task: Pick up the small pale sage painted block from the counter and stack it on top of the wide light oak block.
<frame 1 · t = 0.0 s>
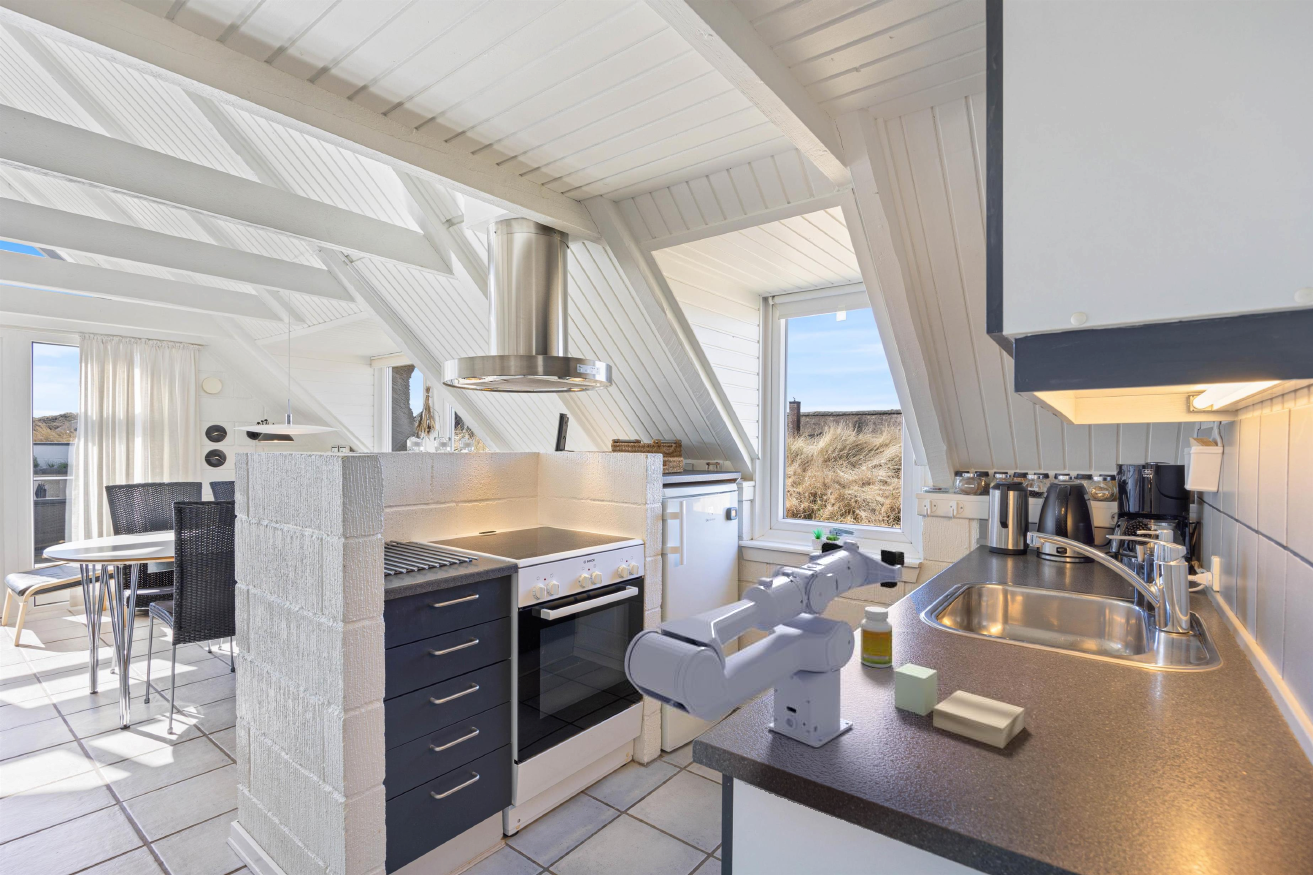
hand: (879, 554, 103), 22 cm above the worktop, tool horizontal, fingers open, 7 cm apart
oak base: (978, 729, 90), on the worktop
sage block: (915, 706, 96), on the worktop
supplement bottle: (876, 664, 115), on the worktop
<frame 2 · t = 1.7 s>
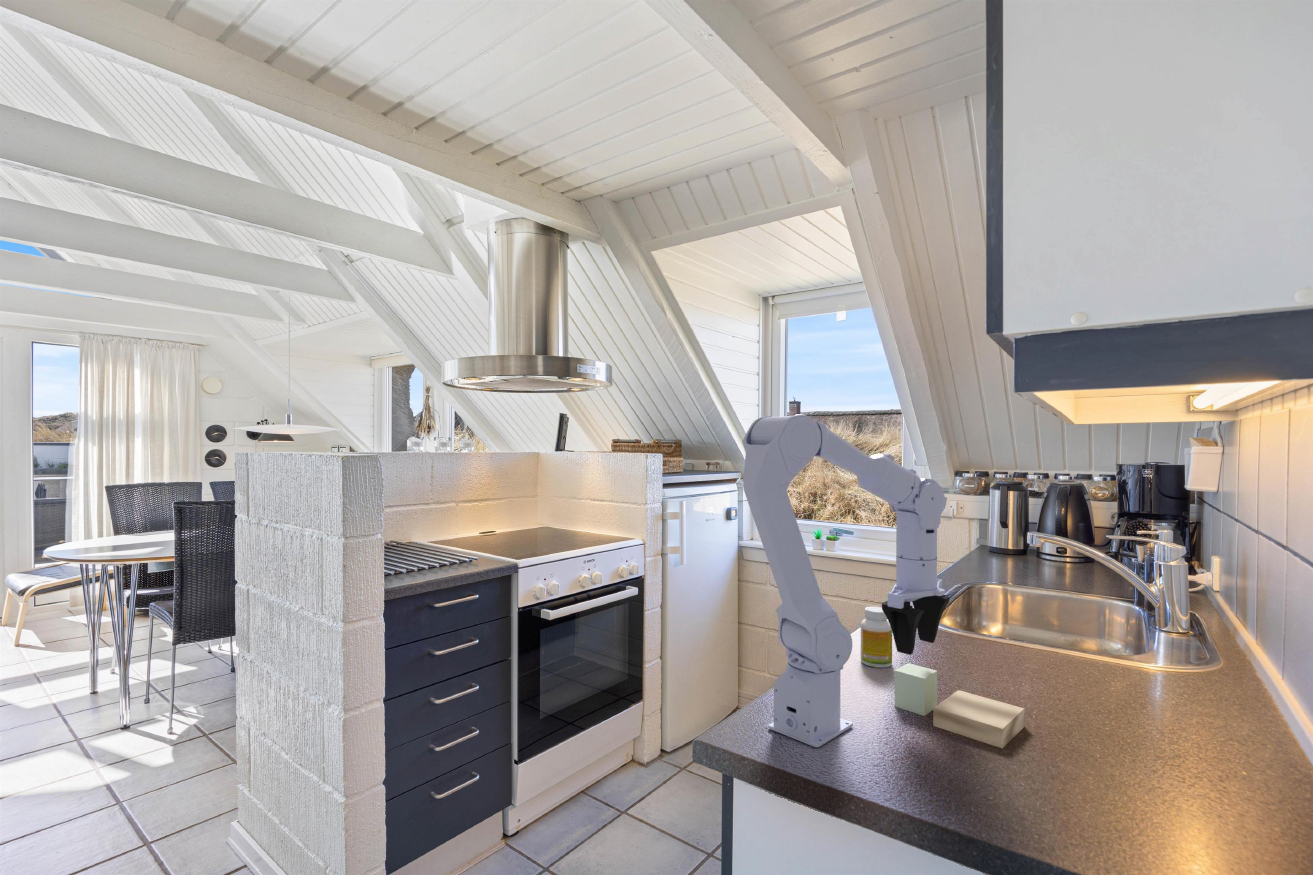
hand: (916, 646, 96), 9 cm above the worktop, tool pointing down, fingers open, 7 cm apart
nothing on the worktop moved.
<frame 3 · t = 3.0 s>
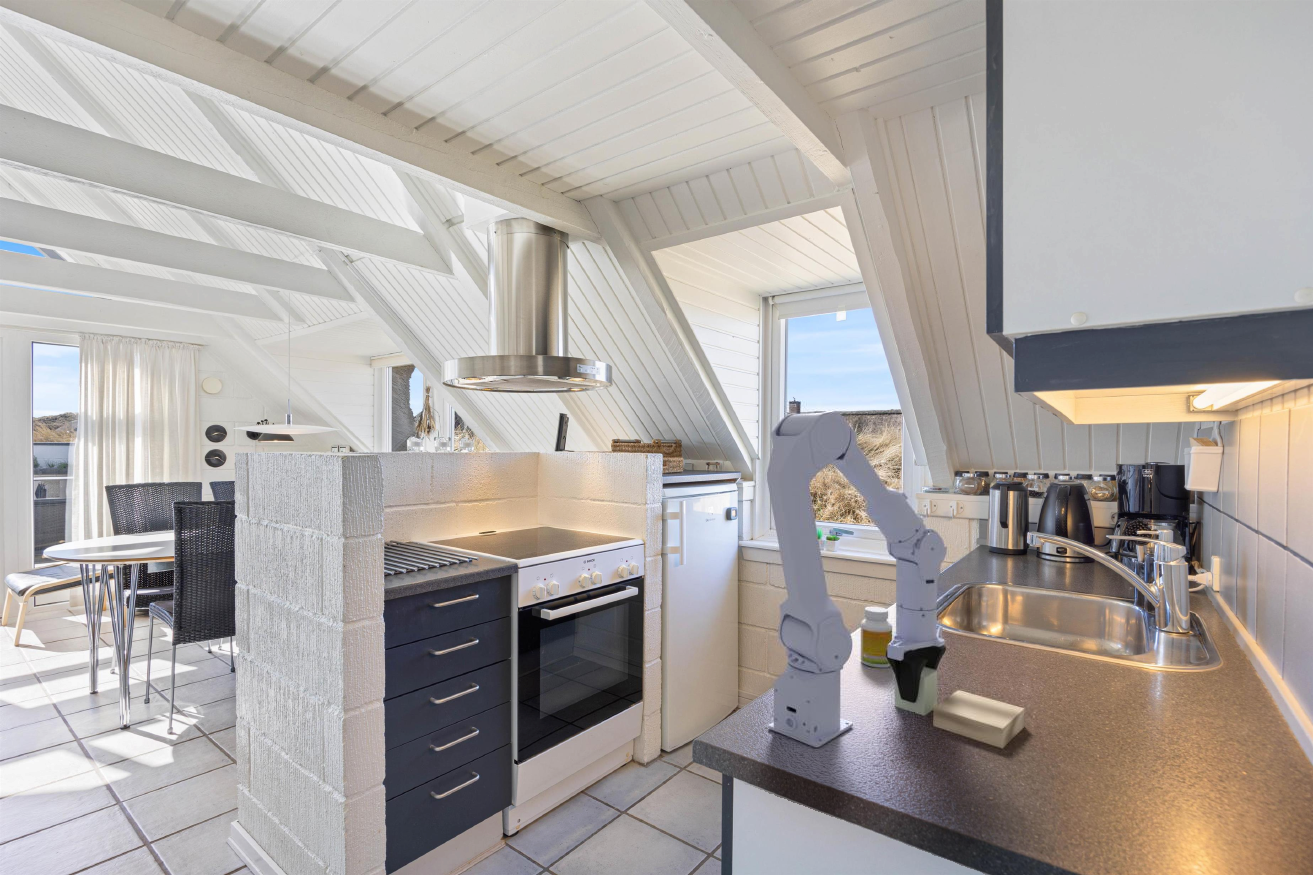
hand: (915, 695, 96), 2 cm above the worktop, tool pointing down, fingers closed on sage block, 4 cm apart
sage block: (915, 706, 96), on the worktop, touching gripper
everything else where it was.
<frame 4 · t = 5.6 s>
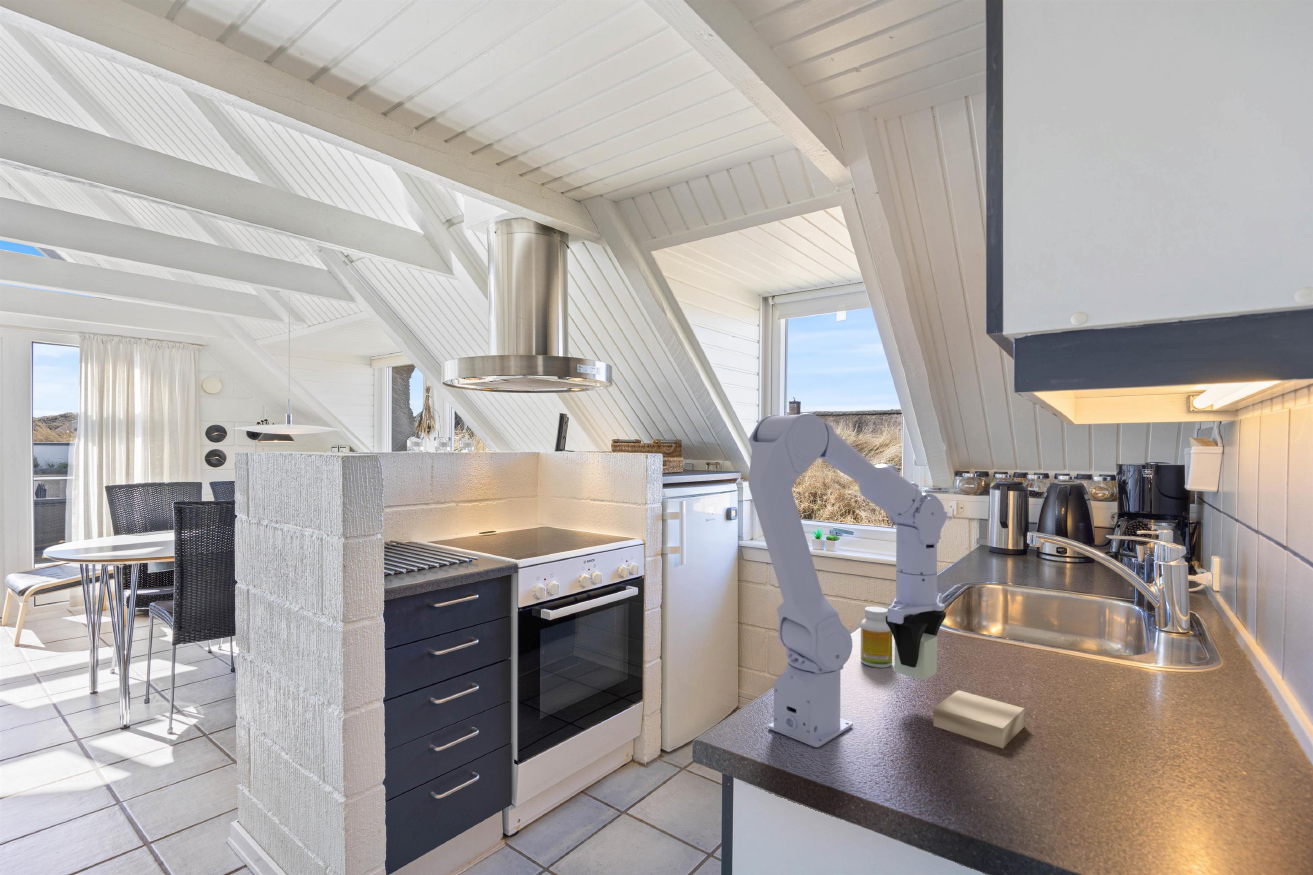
hand: (915, 661, 96), 7 cm above the worktop, tool pointing down, fingers closed on sage block, 4 cm apart
sage block: (915, 672, 96), point 5 cm above the worktop, touching gripper
everything else where it was.
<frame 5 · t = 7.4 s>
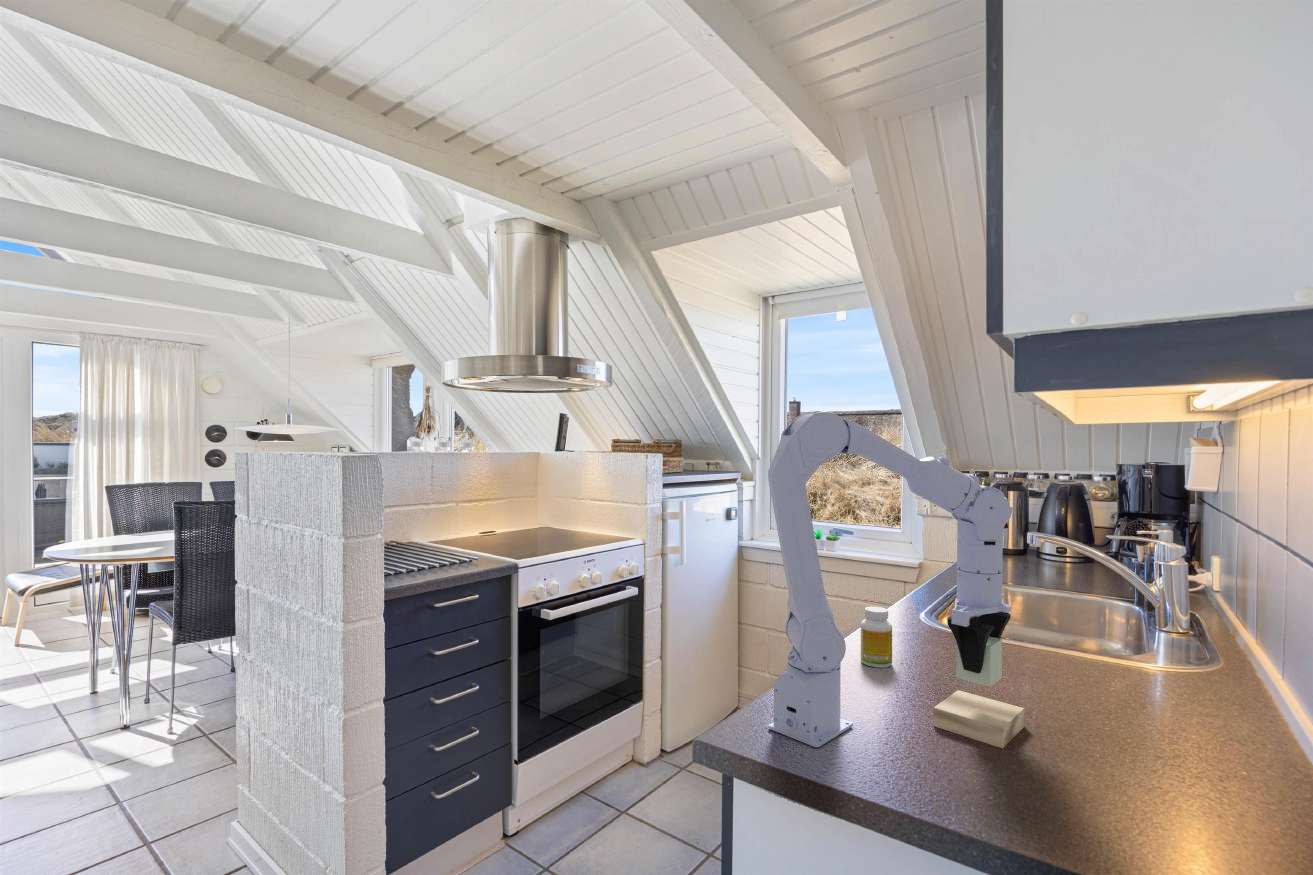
hand: (979, 666, 90), 8 cm above the worktop, tool pointing down, fingers closed on sage block, 4 cm apart
sage block: (978, 677, 90), point 7 cm above the worktop, touching gripper
everything else where it was.
when the fingers open (6 cm above the worktop, at t = 8.5 s): sage block drops 2 cm, resting on oak base.
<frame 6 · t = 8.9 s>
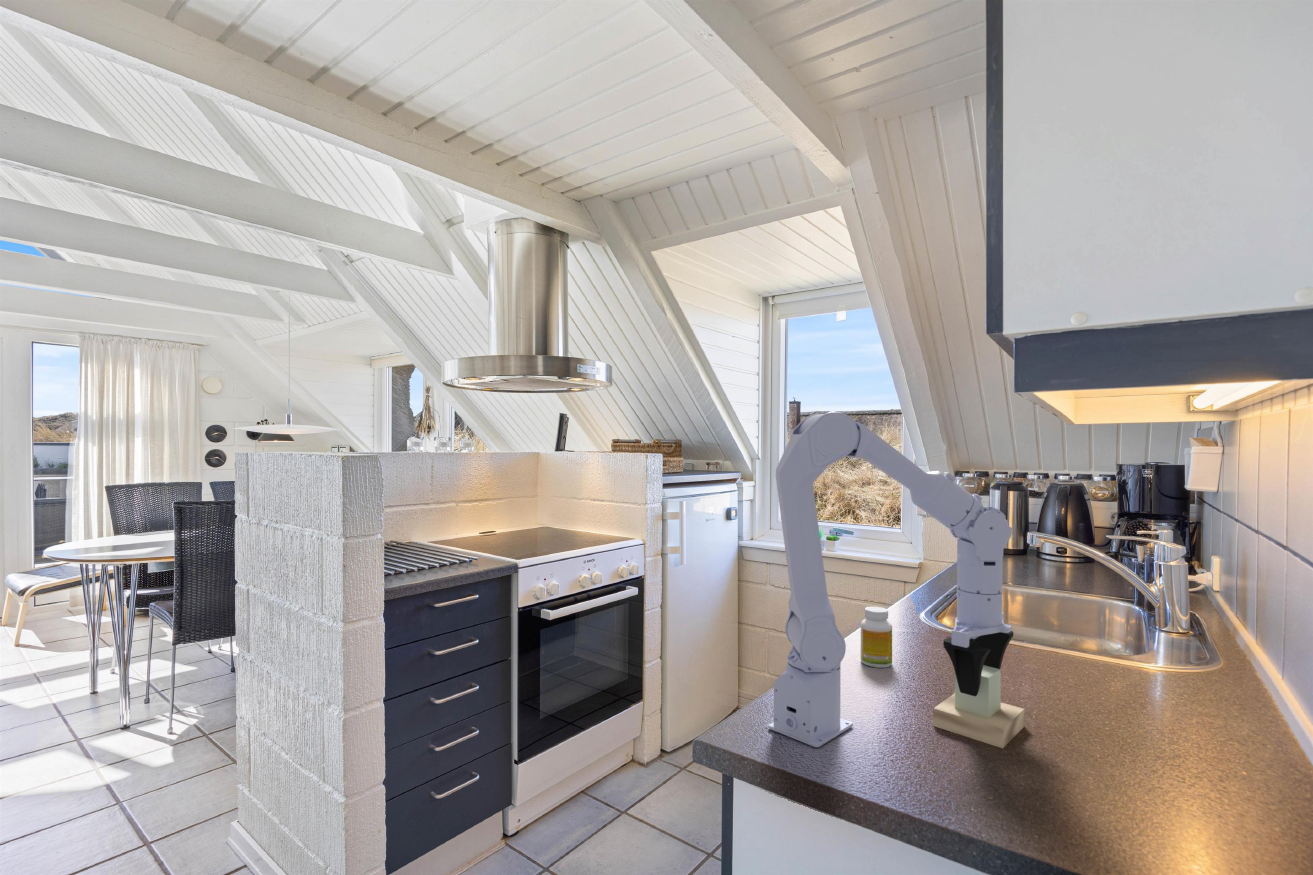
hand: (978, 686, 90), 6 cm above the worktop, tool pointing down, fingers open, 7 cm apart
oak base: (978, 729, 90), on the worktop, touching sage block
sage block: (977, 707, 90), point 2 cm above the worktop, touching oak base
everything else where it was.
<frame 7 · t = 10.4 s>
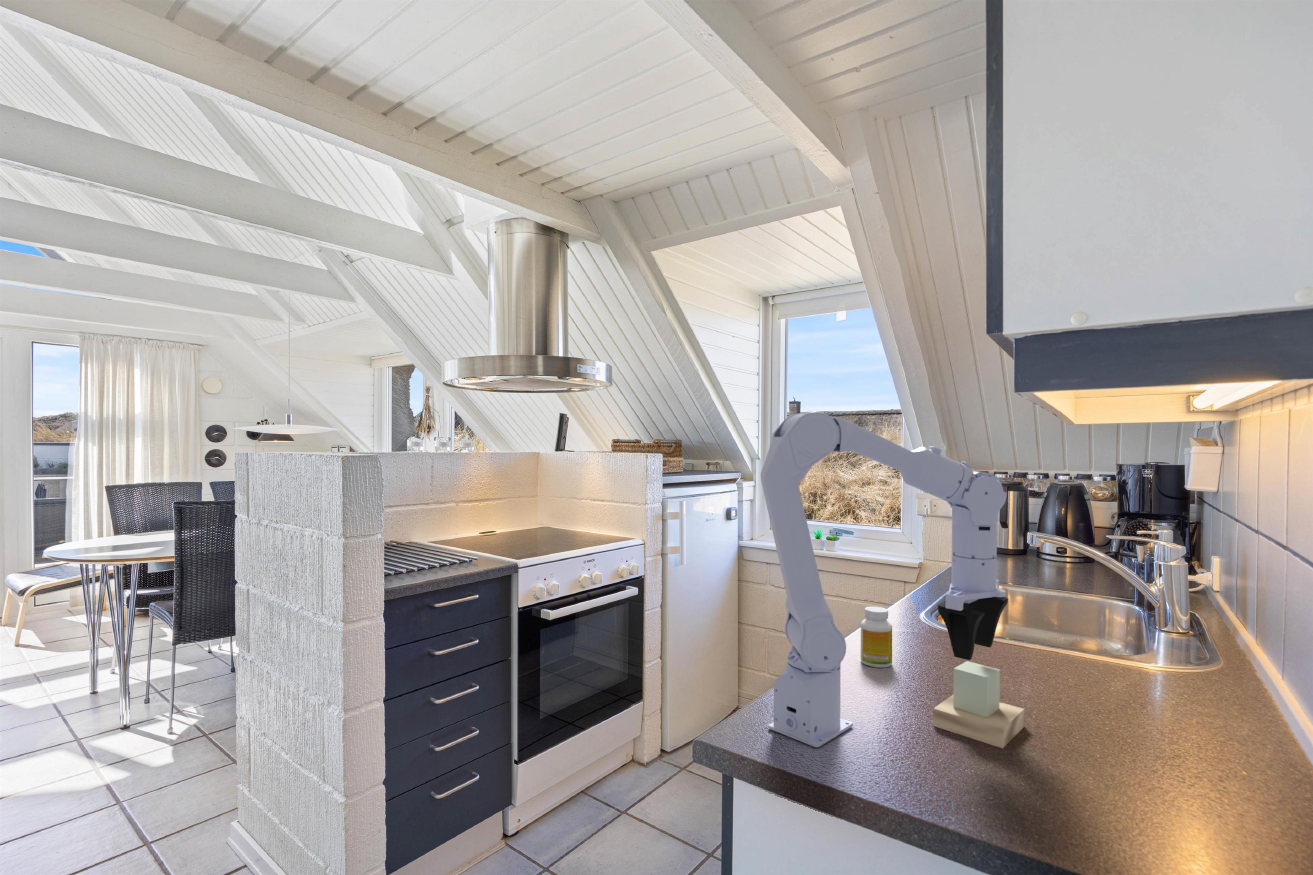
hand: (973, 651, 90), 10 cm above the worktop, tool pointing down, fingers open, 7 cm apart
nothing on the worktop moved.
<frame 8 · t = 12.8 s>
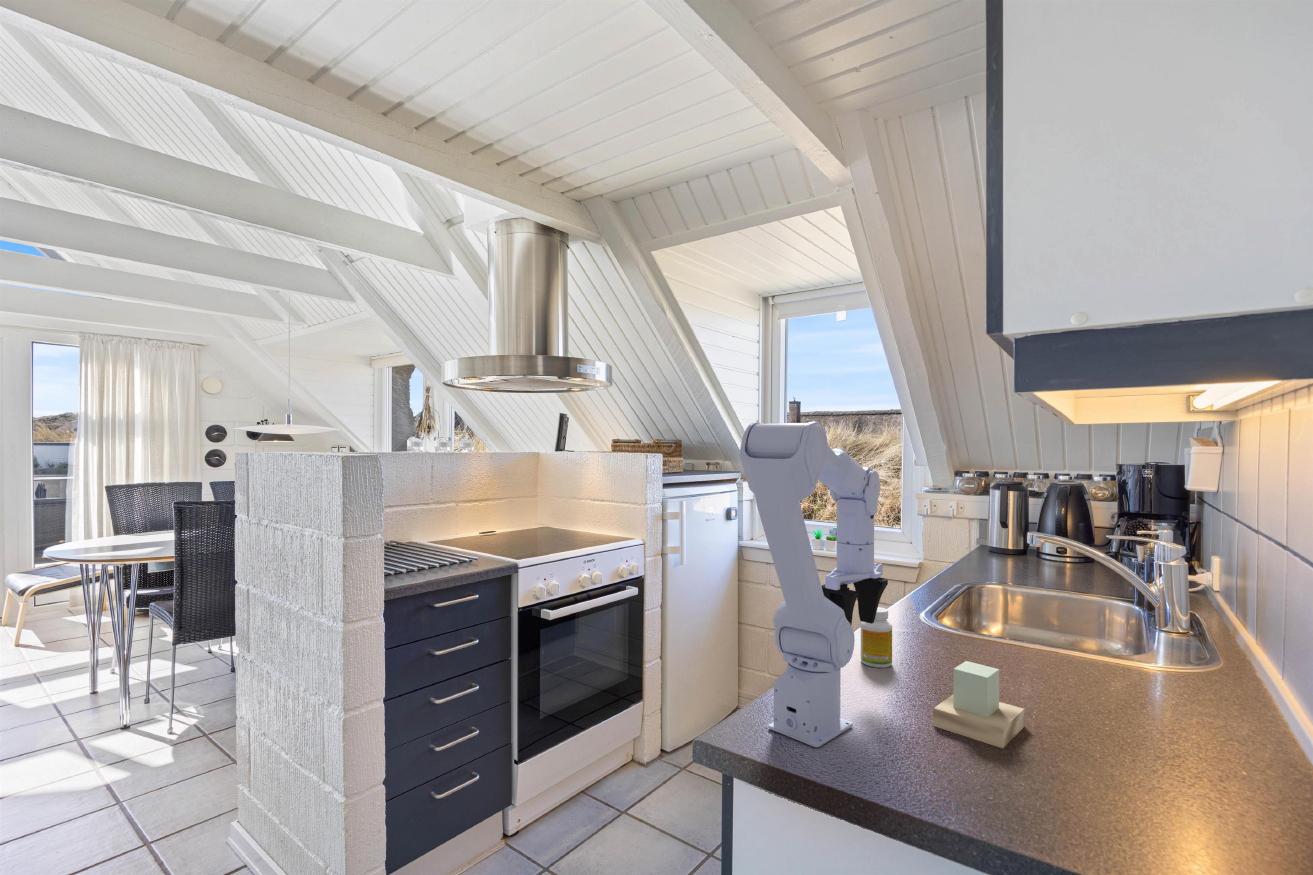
hand: (855, 626, 102), 10 cm above the worktop, tool pointing down, fingers open, 7 cm apart
nothing on the worktop moved.
at the end: sage block 0.4 cm off-centre on the oak base, point 3.0 cm above the oak base's base; sage block tilted 0°; the gripper is holding nothing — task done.
